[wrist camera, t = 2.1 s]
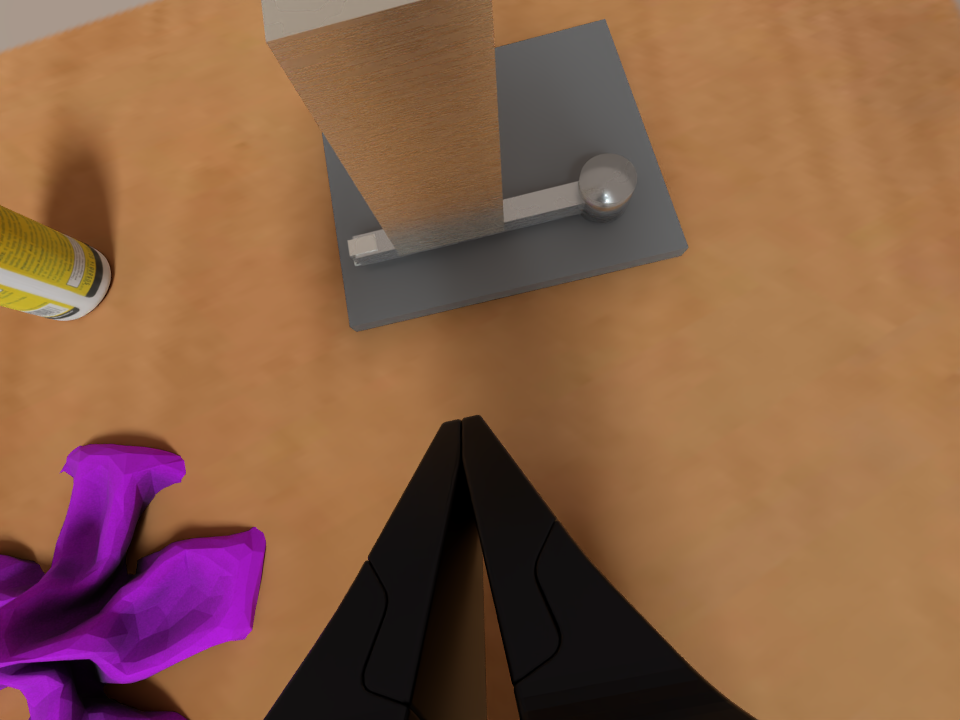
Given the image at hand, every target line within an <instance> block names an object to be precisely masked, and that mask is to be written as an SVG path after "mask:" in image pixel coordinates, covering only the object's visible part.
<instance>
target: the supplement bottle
mask: <svg viewBox="0 0 960 720" xmlns="http://www.w3.org/2000/svg"><path fill="white" fill-rule="evenodd" d="M110 280H111V271H110V266H109V263H108V261H107V259H106V258H105V257H104V255H103V254H101V253H100V252H99V251H98V250H96V249H94V248H93V247H91V246H89V245H87V244H85V243H83V242H80V241H78V240H76V239H74V238H72V237H69V236H67V235H65V234H63V233H60V232H58V231H56V230H54V229H52V228H49V227H47V226H45V225H43V224H41V223H38V222H36V221H34V220H32V219H29V218H27V217H25V216H23V215H21V214H18V213H16V212H14V211H12V210H10V209H7V208H5V207H3V206H1V205H0V306H3V307H7V308H11V309H15V310H19V311H22V312H26V313H30V314H34V315H38V316H42V317H45V318H49V319H54V320H62V321H66V320H74V319H77V318H80V317H82V316H84V315H86V314H88V313H89V312H91V311H92V310H93V309H94V308H95V307H96V306H97V305H98V304H99V303H100V302H101V301H102V299H103V298H104V296H105V294H106V292H107V290H108V288H109V285H110Z"/></svg>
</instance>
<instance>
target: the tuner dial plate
mask: <svg viewBox="0 0 960 720" xmlns="http://www.w3.org/2000/svg"><path fill="white" fill-rule="evenodd" d="M495 66H496V84H497V103H498V121H499V140H500V158H501V177H502V195H503V200H504V199H508V198H512V197H516V196H520V195H524V194H528V193H532V192H536V191H540V190H544V189H548V188H553V187H557V186H561V185H565V184H569V183H573V182H577V181H579V177H580V173H581V170H582V168H583V166H584V165H585V163H586V162H587V161H588V160H590V159H591V158H593V157H595V156H597V155H600V154H606V153H611V154H617V155H620V156H623V157H624V158H626V159H627V160H629V161H630V162H631V163H632V164H633V166H634V167H635V170H636V172H637V184H636V187H635V189H634V191H633V193H632V195H631V197H630V200H629V202H628V204H627V206H626V208H625V210H624V212H623V213H622V214H621V216H620V217H618V218H617V219H615V220H614V221H611V222H608V223H593V222H590V221H588V220H586V219H584V218H583V217H582V216H581V215H580V214H577V215H572V216H568V217H564V218H560V219H556V220H552V221H548V222H543V223H539V224H535V225H531V226H527V227H523V228H519V229H515V230H510V231H506V232H502V233H498V234H494V235H490V236H486V237H481V238H477V239H473V240H469V241H465V242H461V243H457V244H452V245H448V246H444V247H440V248H436V249H432V250H428V251H424V252H419V253H415V254H411V255H407V256H403V257H399V258H395V259H390V260H386V261H382V262H378V263H374V264H370V265H366V266H362V265H361V264H359V265H357V264H356V262H355V261H354V260H353V259H352V258H351V257H350V254H349V247H348V240H352V239H353V236H357V235H361V234H365V233H369V232H373V231H377V230H381V229H383V228H382V227H381V225H380V224H379V222H378V220H377V219H376V217H375V216H374V214H373V212H372V211H371V209H370V208H369V206H368V204H367V203H366V201H365V200H364V198H363V196H362V195H361V193H360V192H359V190H358V188H357V187H356V185H355V184H354V182H353V180H352V179H351V177H350V176H349V174H348V172H347V171H346V169H345V168H344V166H343V164H342V163H341V161H340V160H339V158H338V156H337V155H336V153H335V152H334V150H333V148H332V147H331V145H330V144H329V142H328V140H327V139H326V137H325V136H324V134H323V132H322V136H323V143H324V150H325V157H326V164H327V171H328V178H329V185H330V192H331V199H332V206H333V213H334V220H335V227H336V234H337V241H338V248H339V255H340V261H341V268H342V275H343V282H344V289H345V296H346V303H347V310H348V317H349V324H350V327H351V328H352V329H353V330H355V331H356V332H358V331H362V330H366V329H371V328H375V327H379V326H383V325H388V324H392V323H396V322H400V321H405V320H409V319H413V318H417V317H422V316H426V315H430V314H435V313H439V312H443V311H447V310H452V309H456V308H460V307H464V306H469V305H473V304H477V303H481V302H486V301H490V300H494V299H499V298H503V297H507V296H511V295H516V294H520V293H524V292H528V291H533V290H537V289H541V288H545V287H550V286H554V285H558V284H563V283H567V282H571V281H575V280H580V279H584V278H588V277H592V276H597V275H601V274H605V273H609V272H614V271H618V270H622V269H627V268H631V267H635V266H639V265H644V264H648V263H652V262H656V261H661V260H665V259H669V258H673V257H678V256H681V255H682V254H683V253H684V252H685V251H686V250H687V249H688V245H687V242H686V239H685V237H684V234H683V231H682V228H681V226H680V223H679V220H678V218H677V215H676V212H675V209H674V207H673V204H672V201H671V198H670V196H669V193H668V190H667V187H666V185H665V182H664V179H663V176H662V174H661V171H660V168H659V165H658V163H657V160H656V157H655V154H654V152H653V149H652V146H651V143H650V141H649V138H648V135H647V132H646V130H645V127H644V124H643V122H642V119H641V116H640V113H639V111H638V108H637V105H636V102H635V100H634V97H633V94H632V91H631V89H630V86H629V83H628V80H627V78H626V75H625V72H624V69H623V67H622V64H621V61H620V58H619V56H618V53H617V50H616V47H615V45H614V42H613V39H612V36H611V34H610V31H609V28H608V26H607V23H606V20H605V19H603V20H600V21H596V22H592V23H588V24H584V25H581V26H577V27H573V28H569V29H565V30H562V31H558V32H554V33H550V34H546V35H543V36H539V37H535V38H531V39H527V40H523V41H520V42H516V43H512V44H508V45H504V46H501V47H497V48H495Z"/></svg>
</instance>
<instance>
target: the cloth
mask: <svg viewBox="0 0 960 720" xmlns="http://www.w3.org/2000/svg"><path fill="white" fill-rule="evenodd" d="M63 471H65V472H66V473H68V474H69V475H71V476H72V477H73V478H74V486H73V491H72V496H71V501H70V505H69V508H68V512H67V515H66V519H65V521H64V524H63V527H62V529H61V532H60V535H59V537H58V540H57V543H56V547H55V552H54V557H53V561H52V566H51V568H50V570H49V571H48V572H47V573H46V574H45V573H44V572H43V571H42V569H41V568H40V565H39V564H37V563H36V562H34V561H30V560H22V559H18V558H14V557H11V556H7V555H0V690H1V689H3V688H6V687H8V686H9V687H12V688H16V689H19V690H20V691H21V692H22V693H23V695H24V696H25V697H26V699H27V703H28V707H29V712H30V718H29V720H187V719H186V718H184V717H183V716H182V715H180V714H178V713H176V712H169V711H152V712H142V711H140V710H137V709H134V708H131V707H129V706H126V705H123V704H120V703H117V702H116V700H113V699H110V698H108V697H107V695H106V694H105V693H104V691H103V688H104V686H105V684H106V683H120V684H125V683H134V682H137V681H140V680H143V679H147V678H148V677H150V676H152V675H154V674H156V673H158V672H160V671H162V670H164V669H166V668H168V667H170V666H172V665H174V664H175V663H177V662H179V661H182V660H184V659H186V658H188V657H190V656H192V655H194V654H197V653H199V652H201V651H203V650H205V649H207V648H209V647H212V646H215V645H218V644H221V643H224V642H227V641H236V640H243V639H245V638H246V636H247V635H248V634H249V633H250V632H251V630H252V627H253V621H254V615H255V609H256V604H257V599H258V593H259V587H260V582H261V576H262V569H263V561H264V555H265V548H266V540H265V537H264V533H263V532H261V531H260V530H258V529H257V528H256V527H252V528H251V529H250V530H249V531H246V532H241V533H237V534H233V535H229V536H218V537H205V538H192V539H187V540H182V541H177V542H174V543H171V544H169V545H168V546H166V547H165V548H163V549H162V550H160V551H159V552H156V553H153V554H151V555H148V556H145V557H143V558H141V559H139V560H138V561H137V569H136V574H135V575H132V574H127V568H126V551H127V549H128V547H129V545H130V543H131V540H132V537H133V533H134V530H135V527H136V524H137V521H138V519H139V518H140V516H141V514H142V513H143V511H144V510H145V508H146V507H147V506H148V505H149V503H150V502H151V501H152V500H153V498H154V496H155V494H156V493H158V492H159V491H160V490H162V489H163V488H165V487H168V486H170V485H172V484H174V483H179V482H181V479H182V478H183V476H184V475H185V474H186V470H185V463H184V460H183V459H182V458H181V456H178V455H176V454H174V453H171V452H168V451H164V450H160V449H154V448H148V447H138V446H123V445H116V444H89V445H86V446H79V447H77V448H76V449H74V450H73V451H72V452H71V453H70V454H69V455H68V456H67V462H66V464H65V465H64V467H63V469H62V470H61V472H63ZM61 472H60V473H61Z"/></svg>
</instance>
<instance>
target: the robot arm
mask: <svg viewBox="0 0 960 720" xmlns="http://www.w3.org/2000/svg"><path fill="white" fill-rule="evenodd" d="M482 552H483V556H482ZM483 557H484V561H485V566H486V570H487V575H488V579H489V583H490V588H491V592H492V597H493V601H494V606H495V610H496V614H497V619H498V623H499V628H500V632H501V636H502V641H503V645H504V650H505V654H506V659H507V663H508V667H509V672H510V676H511V681H512V684H513V686H514V694H515V698H516V703H517V708H518V712H519V717H520V720H757V719H756V718H755V717H753V716H752V715H750V714H749V713H747V712H746V711H744V710H743V709H742V708H740V707H739V706H737V705H736V704H735V703H733V702H732V701H730V700H729V699H728V698H727V697H725V696H724V695H723V694H722V693H721V692H719V691H718V690H717V689H716V688H715V687H714V686H712V685H711V684H710V683H709V682H708V681H707V680H705V679H704V678H703V677H702V676H701V675H700V674H699V673H698V672H697V671H696V670H695V669H694V668H693V667H692V666H691V665H690V664H689V663H688V662H687V661H686V660H685V659H684V658H683V657H681V656H680V655H679V654H678V653H677V651H676V650H675V649H674V648H673V647H672V646H671V645H670V644H669V643H668V642H667V641H666V640H665V639H664V638H663V637H662V636H661V635H660V634H659V633H658V632H657V631H656V630H655V629H654V628H653V627H652V626H651V625H650V623H649V622H648V621H647V620H646V619H645V618H644V617H643V616H642V615H641V614H640V613H639V612H638V611H637V610H636V609H635V608H634V607H633V606H632V605H631V604H630V603H629V602H628V601H627V600H626V599H625V598H624V597H623V595H622V594H621V593H620V592H619V591H618V590H617V589H616V588H615V587H614V586H613V585H612V584H611V583H610V582H609V581H608V580H607V578H606V577H605V576H604V575H603V574H602V573H601V572H600V571H599V570H598V569H597V567H596V566H595V565H594V564H593V563H592V562H591V561H590V560H589V558H588V557H587V556H586V555H585V553H584V552H583V551H582V550H581V548H580V547H579V546H578V545H577V543H576V542H575V541H574V540H573V538H572V537H571V536H570V535H569V533H568V532H567V531H566V529H565V528H564V527H563V525H562V524H561V523H560V521H557V518H556V516H555V515H554V514H553V512H552V511H551V509H550V508H549V507H548V505H547V504H546V503H545V501H544V500H543V499H542V497H541V496H540V495H539V493H538V492H537V491H536V489H535V488H534V487H533V485H532V484H531V483H530V481H529V480H528V479H527V477H526V476H525V475H524V473H523V472H522V471H521V469H520V468H519V467H518V465H517V464H516V463H515V461H514V460H513V458H512V457H511V456H510V454H509V453H508V452H507V450H506V449H505V448H504V446H503V445H502V444H501V442H500V441H499V440H498V438H497V437H496V436H495V434H494V433H493V432H492V430H491V429H490V428H489V426H488V425H487V424H486V422H485V421H484V420H483V418H482V417H481V416H480V415H475V416H470V417H466V418H463V419H462V421H461V420H459V419H457V420H452V421H448V422H444V423H443V424H442V425H441V427H440V428H439V430H438V432H437V434H436V436H435V437H434V439H433V441H432V443H431V445H430V446H429V448H428V450H427V452H426V453H425V455H424V457H423V459H422V461H421V462H420V464H419V466H418V468H417V470H416V471H415V473H414V475H413V477H412V479H411V480H410V482H409V484H408V486H407V487H406V489H405V491H404V493H403V495H402V496H401V498H400V500H399V502H398V504H397V505H396V507H395V509H394V511H393V512H392V514H391V516H390V518H389V520H388V521H387V523H386V525H385V527H384V529H383V530H382V532H381V534H380V536H379V538H378V539H377V541H376V543H375V545H374V546H373V548H372V550H371V552H370V554H369V555H368V560H369V561H368V560H367V561H365V562H364V564H363V566H362V568H361V569H360V571H359V573H358V575H357V577H356V578H355V580H354V582H353V584H352V585H351V587H350V589H349V590H348V592H347V594H346V595H345V597H344V599H343V600H342V602H341V604H340V606H339V607H338V609H337V611H336V612H335V614H334V615H333V617H332V618H331V620H330V621H329V623H328V624H327V626H326V628H325V629H324V631H323V632H322V634H321V635H320V637H319V638H318V640H317V641H316V643H315V644H314V646H313V647H312V649H311V650H310V652H309V653H308V655H307V656H306V658H305V659H304V661H303V662H302V664H301V665H300V667H299V668H298V670H297V671H296V673H295V674H294V675H293V677H292V678H291V680H290V681H289V683H288V684H287V686H286V687H285V689H284V690H283V692H282V693H281V695H280V696H279V698H278V699H277V701H276V702H275V704H274V705H273V706H272V708H271V709H270V711H269V712H268V714H267V715H266V717H265V718H264V720H487V705H486V668H485V631H484V593H483Z"/></svg>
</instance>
